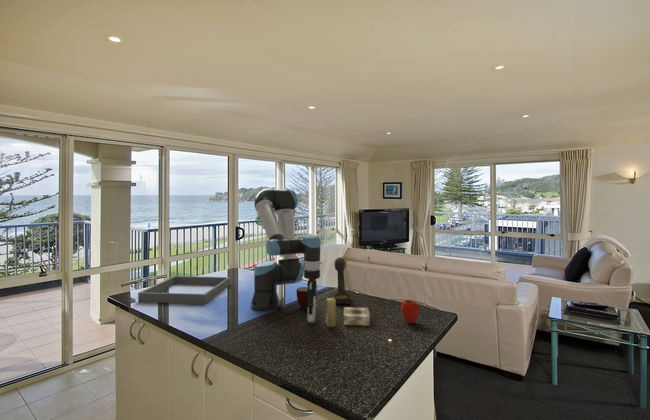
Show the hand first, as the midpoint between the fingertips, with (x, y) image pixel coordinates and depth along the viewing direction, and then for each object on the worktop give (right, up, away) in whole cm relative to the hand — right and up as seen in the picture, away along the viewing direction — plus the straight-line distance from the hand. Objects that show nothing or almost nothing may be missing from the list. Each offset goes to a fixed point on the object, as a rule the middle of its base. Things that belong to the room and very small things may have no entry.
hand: (311, 316), depth 151 cm
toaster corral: (-76, 0, +44) cm, 88 cm away
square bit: (+9, -3, -3) cm, 10 cm away
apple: (+46, -3, 0) cm, 46 cm away
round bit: (0, -2, 0) cm, 2 cm away
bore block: (+21, -3, +3) cm, 22 cm away
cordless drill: (+16, -1, +32) cm, 36 cm away
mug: (-4, -2, +18) cm, 19 cm away
